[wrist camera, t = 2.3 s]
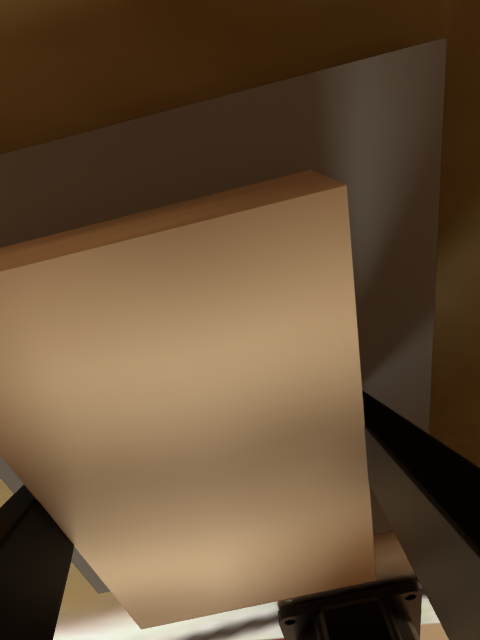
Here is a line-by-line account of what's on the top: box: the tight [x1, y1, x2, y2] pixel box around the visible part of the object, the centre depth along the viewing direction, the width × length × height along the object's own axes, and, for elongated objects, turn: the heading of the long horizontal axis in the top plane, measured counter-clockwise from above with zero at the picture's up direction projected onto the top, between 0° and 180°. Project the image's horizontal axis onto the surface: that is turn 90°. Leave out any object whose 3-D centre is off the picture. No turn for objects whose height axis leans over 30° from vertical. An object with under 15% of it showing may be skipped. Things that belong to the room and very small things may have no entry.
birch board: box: [0, 170, 376, 629], centre depth 9 cm, size 11×7×2 cm, turn 13°
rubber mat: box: [0, 37, 447, 594], centre depth 10 cm, size 14×12×1 cm
